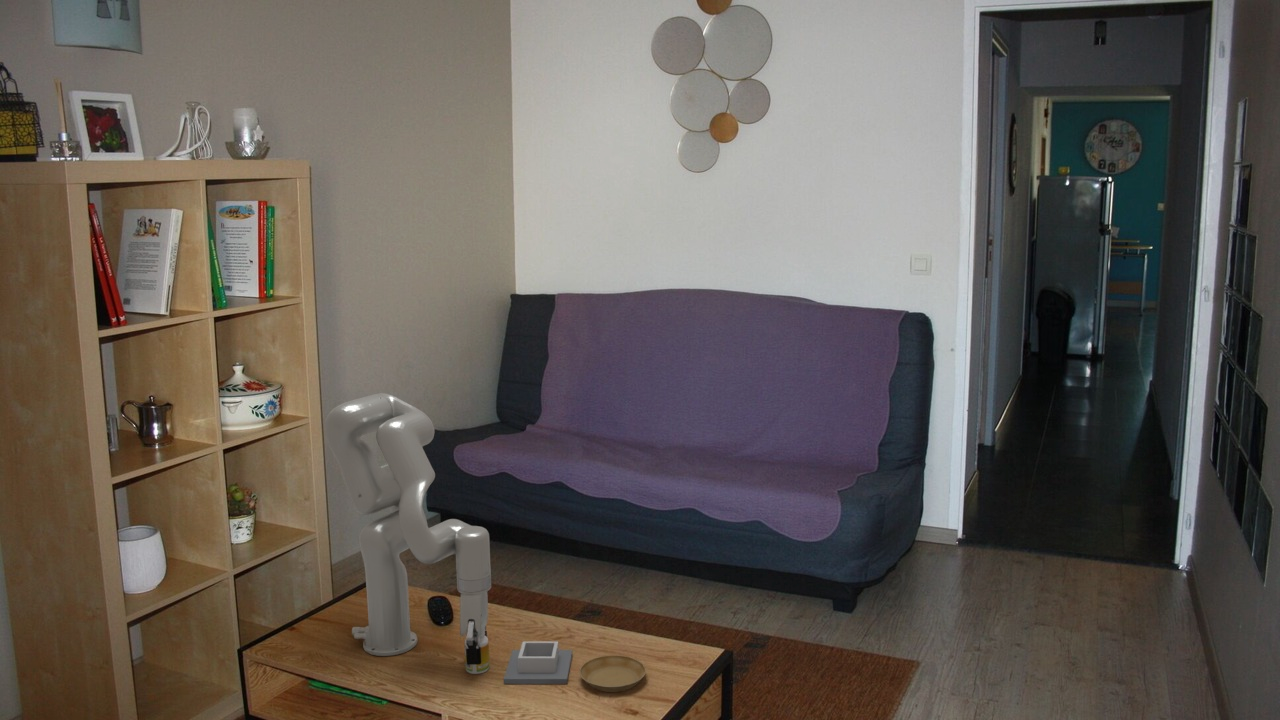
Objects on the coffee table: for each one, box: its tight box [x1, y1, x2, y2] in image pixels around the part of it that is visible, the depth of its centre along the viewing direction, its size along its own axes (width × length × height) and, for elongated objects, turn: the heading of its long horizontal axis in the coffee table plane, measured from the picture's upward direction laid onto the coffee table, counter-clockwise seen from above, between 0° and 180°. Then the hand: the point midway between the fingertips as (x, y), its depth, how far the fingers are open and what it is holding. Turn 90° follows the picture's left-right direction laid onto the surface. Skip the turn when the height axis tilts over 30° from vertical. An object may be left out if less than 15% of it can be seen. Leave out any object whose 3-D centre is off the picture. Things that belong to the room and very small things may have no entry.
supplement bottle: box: [464, 628, 490, 675], centre depth 233 cm, size 5×5×10 cm
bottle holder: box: [503, 640, 573, 685], centre depth 233 cm, size 14×14×5 cm
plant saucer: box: [578, 654, 647, 693], centre depth 228 cm, size 15×15×3 cm
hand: (477, 655), depth 233 cm, fingers open, 7 cm apart
